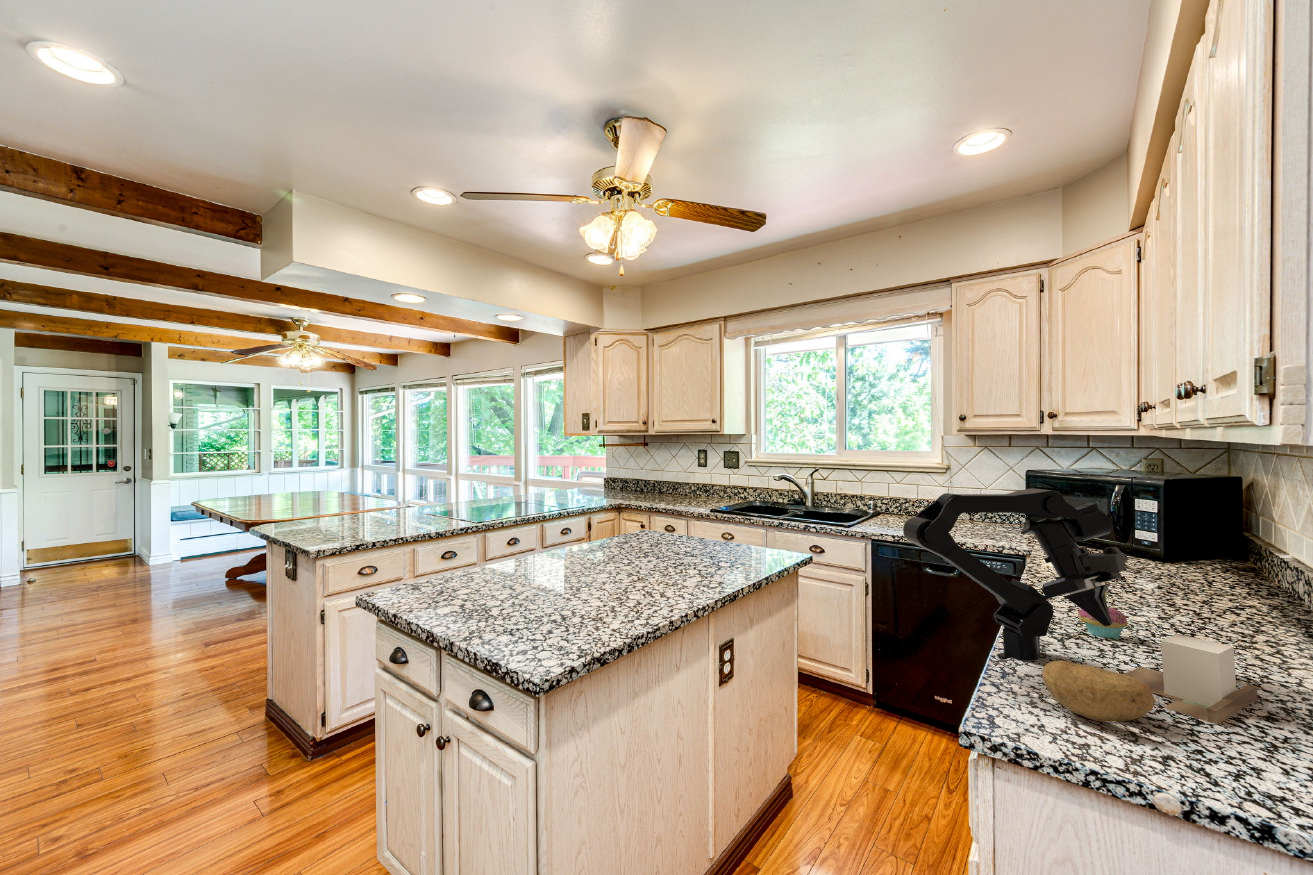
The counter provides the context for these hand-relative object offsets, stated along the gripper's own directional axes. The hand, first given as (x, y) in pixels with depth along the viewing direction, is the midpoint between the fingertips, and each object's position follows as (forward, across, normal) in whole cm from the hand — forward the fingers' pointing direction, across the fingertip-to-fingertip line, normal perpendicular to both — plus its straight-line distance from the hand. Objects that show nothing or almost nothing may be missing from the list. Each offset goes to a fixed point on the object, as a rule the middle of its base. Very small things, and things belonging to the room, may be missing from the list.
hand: (1108, 625), depth 100 cm
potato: (+11, -21, -1) cm, 24 cm away
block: (+13, -2, -7) cm, 15 cm away
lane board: (+13, -3, -4) cm, 14 cm away
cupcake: (+4, +20, +12) cm, 24 cm away
